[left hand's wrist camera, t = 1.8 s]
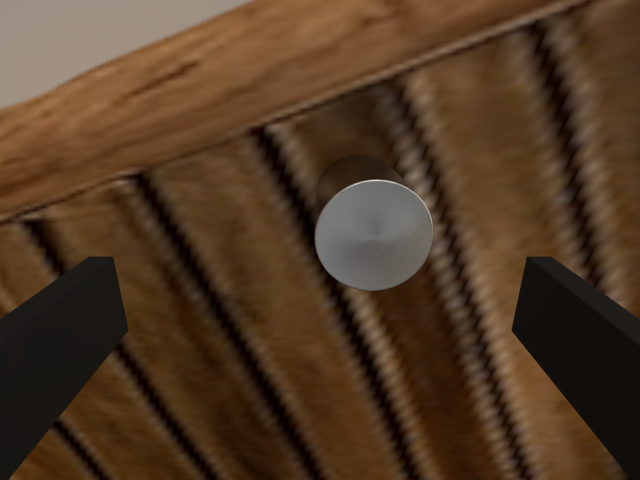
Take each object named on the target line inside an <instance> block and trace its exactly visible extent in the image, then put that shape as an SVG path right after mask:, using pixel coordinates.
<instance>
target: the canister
mask: <svg viewBox="0 0 640 480" xmlns="http://www.w3.org/2000/svg"><path fill="white" fill-rule="evenodd" d="M433 235H434V228H433V221H432V217H431V214H430V212H429V209H428V208H427V206H426V204H425V203H424V201H423V200H422V199H421V197H420V196H419V195H418V194H417V193H416V192H415V191H414V190H413V189H412V188H411V187H410V186H409V185H408V184H407V183H406V182H405V181H404V180H403V179H402V178H401V177H400V176H399V175H398V174H397V173H396V172H395V171H394V170H393V169H392V168H391V167H390V166H389V165H388V164H387V163H385V162H384V161H382V160H380V159H378V158H375V157H372V156H368V155H354V156H349V157H346V158H343V159H341V160H339V161H338V162H336V163H334V164H333V165H332V166H331V167H330V168H329V169H328V170H327V171H326V172H325V173H324V175H323V176H322V178H321V180H320V182H319V185H318V187H317V192H316V210H315V247H316V252H317V254H318V257H319V259H320V261H321V263H322V265H323V266H324V268H325V269H326V270H327V271H328V273H329V274H330V275H331V276H333V277H334V278H335V279H336V280H338V281H339V282H341V283H343V284H345V285H347V286H349V287H352V288H355V289H360V290H368V291H374V290H383V289H387V288H391V287H394V286H396V285H399V284H401V283H402V282H404V281H406V280H407V279H409V278H410V277H412V276H413V275H414V274H415V273H416V272H417V271H418V270H419V269H420V268H421V266H422V265H423V264H424V262H425V261H426V259H427V257H428V255H429V253H430V250H431V247H432V243H433Z"/></svg>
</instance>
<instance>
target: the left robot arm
mask: <svg viewBox="0 0 640 480" xmlns="http://www.w3.org/2000/svg"><path fill="white" fill-rule="evenodd" d="M127 332H128V326H127V321H126V316H125V312H124V307H123V302H122V297H121V292H120V288H119V283H118V278H117V273H116V269H115V264H114V259H113V257H88V258H86V259H85V260H83V261H82V262H81V263H79V264H78V265H76V266H75V267H74V268H72V269H71V270H69V271H68V272H67V273H65V274H64V275H62V276H61V277H60V278H58V279H57V280H55V281H54V282H52V283H51V284H50V285H48V286H47V287H45V288H44V289H43V290H41V291H40V292H38V293H37V294H36V295H34V296H33V297H31V298H30V299H28V300H27V301H26V302H24V303H23V304H21V305H20V306H19V307H17V308H16V309H14V310H13V311H12V312H10V313H9V314H7V315H6V316H4V317H3V318H2V319H0V480H9V478H10V477H11V476H12V475H13V473H14V472H15V471H16V470H17V468H18V467H19V466H20V465H21V463H22V462H23V461H24V460H25V458H26V457H27V456H28V455H29V453H30V452H31V451H32V450H33V448H34V447H35V446H36V445H37V444H38V442H39V441H40V440H41V439H42V437H43V436H44V435H45V434H46V432H47V431H48V430H49V429H50V427H51V426H52V425H53V424H54V422H55V421H56V420H57V419H58V417H59V416H60V415H61V414H62V412H63V411H64V410H65V409H66V408H67V406H68V405H69V404H70V403H71V401H72V400H73V399H74V398H75V396H76V395H77V394H78V393H79V391H80V390H81V389H82V388H83V386H84V385H85V384H86V383H87V381H88V380H89V379H90V378H91V376H92V375H93V374H94V373H95V372H96V370H97V369H98V368H99V367H100V365H101V364H102V363H103V362H104V360H105V359H106V358H107V357H108V355H109V354H110V353H111V352H112V350H113V349H114V348H115V347H116V345H117V344H118V343H119V342H120V341H121V339H122V338H123V337H124V336H125V334H126V333H127ZM512 332H513V333H514V334H515V336H516V337H517V338H518V339H519V341H520V342H521V343H522V344H523V345H524V347H525V348H526V349H527V350H528V352H529V353H530V354H531V355H532V357H533V358H534V359H535V360H536V362H537V363H538V364H539V365H540V367H541V368H542V369H543V370H544V372H545V373H546V374H547V375H548V376H549V378H550V379H551V380H552V381H553V383H554V384H555V385H556V386H557V388H558V389H559V390H560V391H561V393H562V394H563V395H564V396H565V398H566V399H567V400H568V401H569V403H570V404H571V405H572V406H573V408H574V409H575V410H576V411H577V412H578V414H579V415H580V416H581V417H582V419H583V420H584V421H585V422H586V424H587V425H588V426H589V427H590V429H591V430H592V431H593V432H594V434H595V435H596V436H597V437H598V439H599V440H600V441H601V442H602V444H603V445H604V446H605V447H606V448H607V450H608V451H609V452H610V453H611V455H612V456H613V457H614V458H615V460H616V461H617V462H618V463H619V465H620V466H621V467H622V468H623V470H624V471H625V472H626V473H627V475H628V476H629V477H630V478H631V480H640V319H638V318H637V317H636V316H634V315H633V314H631V313H630V312H628V311H627V310H626V309H624V308H623V307H621V306H620V305H619V304H617V303H616V302H614V301H613V300H612V299H610V298H609V297H607V296H606V295H604V294H603V293H602V292H600V291H599V290H597V289H596V288H595V287H593V286H592V285H590V284H589V283H588V282H586V281H585V280H583V279H582V278H580V277H579V276H578V275H576V274H575V273H573V272H572V271H571V270H569V269H568V268H566V267H565V266H564V265H562V264H561V263H559V262H558V261H557V260H555V259H554V258H552V257H527V259H526V264H525V269H524V273H523V278H522V283H521V288H520V292H519V297H518V302H517V307H516V312H515V316H514V321H513V326H512Z"/></svg>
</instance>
